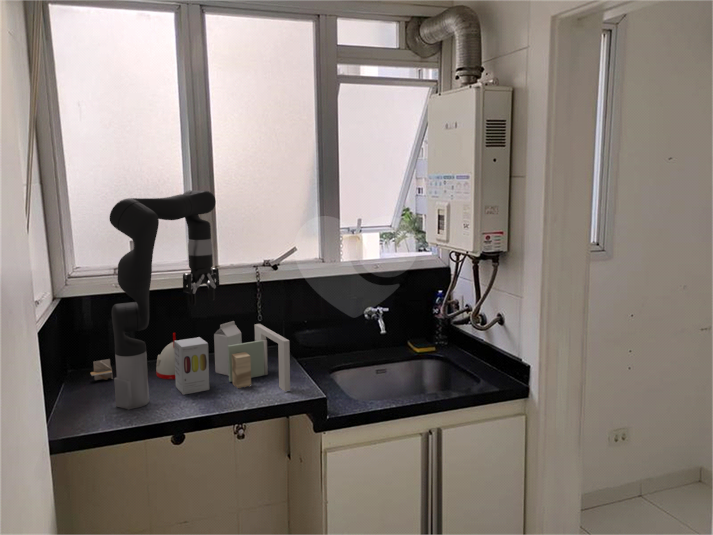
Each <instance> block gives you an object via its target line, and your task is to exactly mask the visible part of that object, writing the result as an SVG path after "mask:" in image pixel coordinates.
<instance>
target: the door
mask: <svg viewBox="0 0 713 535" xmlns="http://www.w3.org/2000/svg"><path fill="white" fill-rule="evenodd" d="M243 352H246V353H247V354H249V355H250V359H251V379H252V378H256V377H261V376H267V375H268V374H269V372H268V366H269V365H268V340H267V339H266V340H260V341H255V340H254V341H248V342H242V343H241V344H235V345H229V346H228V369H229V376H228V381H229V382H233V379H232V354H237V353H243Z"/></svg>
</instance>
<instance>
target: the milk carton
mask: <svg viewBox="0 0 713 535" xmlns="http://www.w3.org/2000/svg"><path fill="white" fill-rule="evenodd" d="M213 340H214V342H213V343H214V344H213V345H214V369H215V370H214V371H215V373H216V374H220V375H224V376H228V377H229V369H228V346H229V345H235V344H241V343H243V340H242V332H241V330H240V329H239V328H238V327H237V325H236V323H235V321H234V320H232V321H229V322H225V323H222V324H219V329H217V330H216V331H215V333H213Z"/></svg>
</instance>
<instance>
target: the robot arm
mask: <svg viewBox="0 0 713 535" xmlns="http://www.w3.org/2000/svg"><path fill="white" fill-rule="evenodd" d="M216 202H217V200H216V198H215V195H214V194H213V193H212V192H211V191H208V190H193V189H192V190H186V191H184V193H180V194H176V195H171V196H167V197H160V198H159V197H152V198H151V197H150V198H148V197H146V198H142V197H141V198H140V197H139V198H138V197H136V198H135V197H131V198H130V197H129V198H124V199H121V200H119V201H118V202H117V203H116V204H115V205H114V206H113V207H112V209H111V210H110V212H109V213H110V214H109V219H108V220H109V222H110V224H111V226H113V227H114V229H116V230H117V231H118V232H121V233H122V234H123V235H125V236H127V237H128V238H130V239H131V240H132V241H133V242H132V243H133V249H131V250H130V251H128V252H127V253H125V254H124V255H123V256H122V257H121V258H120V259H119V261H118V264H117V283H118V285H119V287H120V289H121V290H122V291H123V292H124V293H125V294H126V295H127V296H128V297H130V298H131V299H133V301H132V302H123V303H115V304H114V305H112V308H111V322H112V330H113V336H114V337H113V338H114V356H115V370H116V371H115V372H116V377H114V378H113V380H114V381H113V383H114V397H115V407H118V408H121V409H125V410H132V409H137V408H141V407H144V406H146V405H148V404H149V403H150V393H149V392H150V390H149V375H148V359H147V358H148V355H147V345H146V341H143V340H142V339H137V338H132V337H130V336H128V335H126V333H132V332H141V331H143V330H146V329H147V328H148V326H149V323H150V289H151V281H152V271H153V255H154V248H155V244H156V239H157V235H158V230H159V223H160V221H159V220H164V221H177V220H181V219H183V218H184V219H185V221H186V222H185V223H186V226H187V234H188V235H187V237H188V240H187V241H188V243H187V254H188V259H187V260H188V268H189V269H190V273H183V274H182V292H183V293H187V294H188V303H189V305H190V306H196V305H197V293H196V292H197V290H198V289H199V288H200V286H202V285H204V284H205V285H206V287H207V299H208V301H215V299H216V298H215V297H216V288H217V287H219V286H220V274H219V273H220V271H219V268H217V267H213V266H214V264H213V263H214V260H213V257H214V256H213V243H212V242H213V241H212V228H211V226H212V225H211V223H210V222H209V221H208V220H206V219H202V218H201V217H200V216H199V215H205V214H208V213H210V212H212V211H213V210H214V208H215V207H216V204H217V203H216Z"/></svg>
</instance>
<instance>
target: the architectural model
mask: <svg viewBox="0 0 713 535" xmlns="http://www.w3.org/2000/svg"><path fill="white" fill-rule="evenodd" d="M90 375H91V377H94V381H99V380H100V381H101V380H108V379H112V380H114V378H113V368H112V367H111V359H110V358H108V359H101V360H96V361H95V360H94V361H93V371H91V372H90Z"/></svg>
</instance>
